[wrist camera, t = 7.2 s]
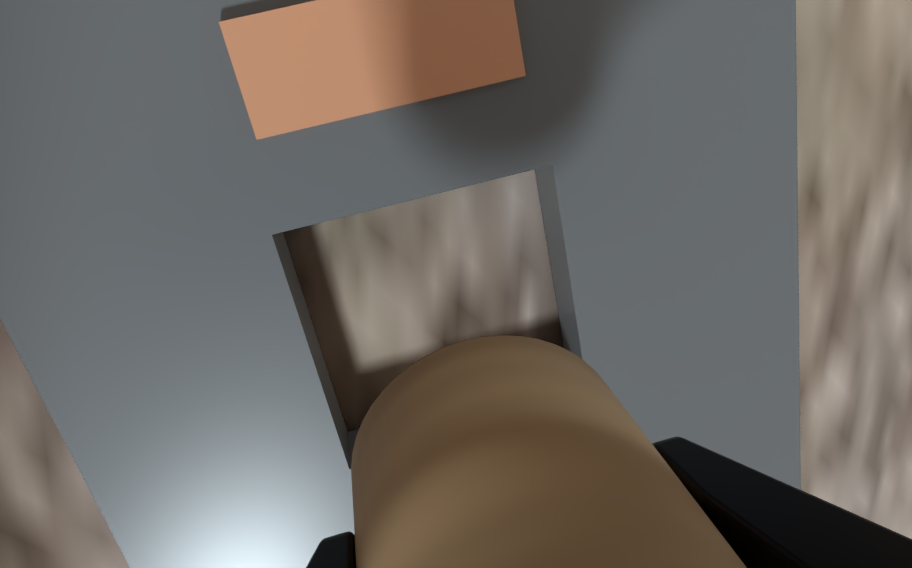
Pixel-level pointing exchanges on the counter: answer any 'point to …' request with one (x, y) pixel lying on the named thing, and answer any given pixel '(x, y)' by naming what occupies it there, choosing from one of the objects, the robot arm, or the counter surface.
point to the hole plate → (366, 188)
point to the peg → (517, 470)
